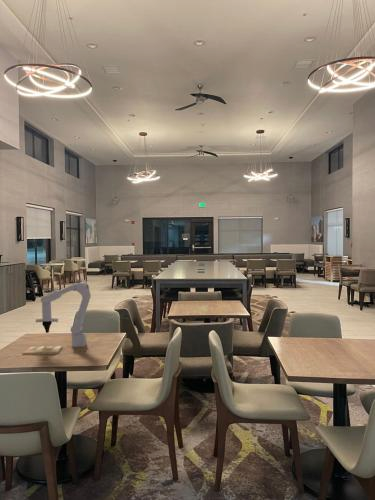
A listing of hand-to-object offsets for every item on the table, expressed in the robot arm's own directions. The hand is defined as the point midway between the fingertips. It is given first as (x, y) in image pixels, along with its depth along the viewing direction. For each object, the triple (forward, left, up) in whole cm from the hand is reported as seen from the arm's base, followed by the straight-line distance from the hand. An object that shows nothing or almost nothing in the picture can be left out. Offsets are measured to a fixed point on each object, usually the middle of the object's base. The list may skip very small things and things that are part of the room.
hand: (47, 332), depth 275 cm
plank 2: (-6, +9, -9) cm, 14 cm away
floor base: (-1, +12, -10) cm, 15 cm away
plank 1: (+4, +9, -9) cm, 13 cm away
